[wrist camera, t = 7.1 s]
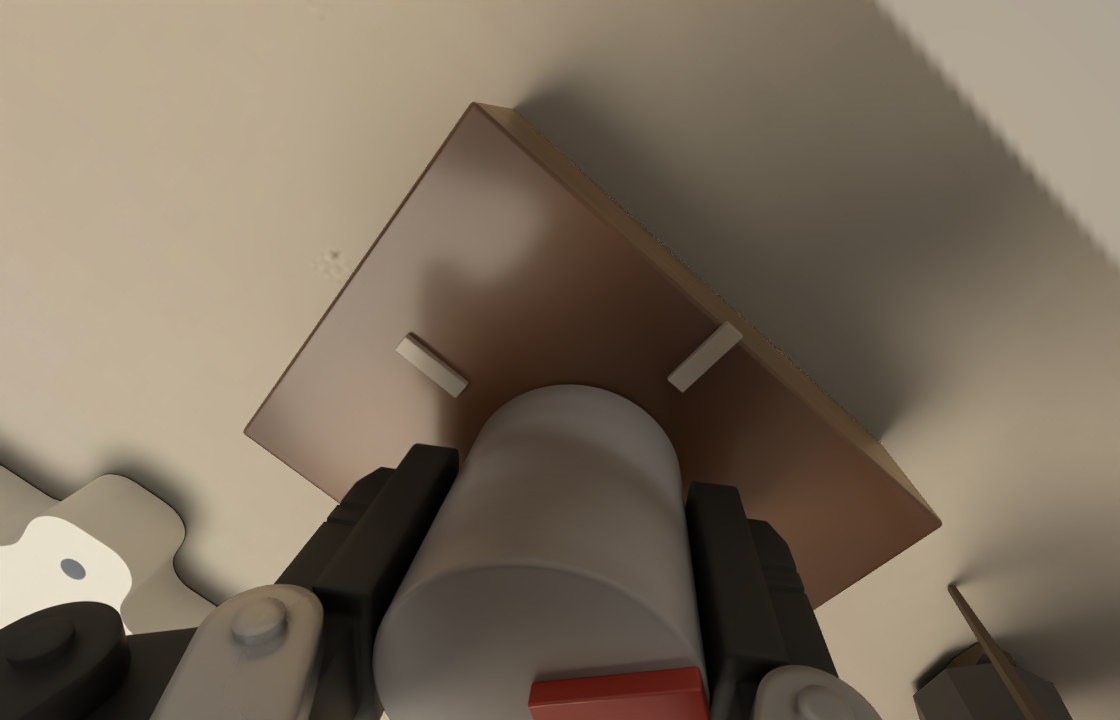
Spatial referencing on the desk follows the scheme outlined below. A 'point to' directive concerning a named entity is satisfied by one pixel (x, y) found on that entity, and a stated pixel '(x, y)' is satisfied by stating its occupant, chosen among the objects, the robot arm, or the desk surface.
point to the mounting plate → (94, 554)
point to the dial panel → (574, 354)
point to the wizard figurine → (987, 684)
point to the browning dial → (552, 576)
